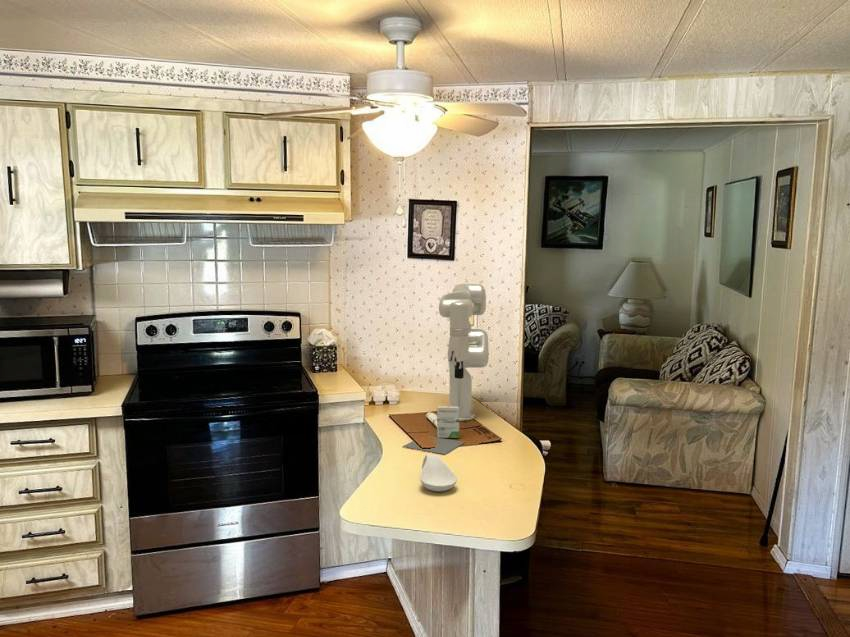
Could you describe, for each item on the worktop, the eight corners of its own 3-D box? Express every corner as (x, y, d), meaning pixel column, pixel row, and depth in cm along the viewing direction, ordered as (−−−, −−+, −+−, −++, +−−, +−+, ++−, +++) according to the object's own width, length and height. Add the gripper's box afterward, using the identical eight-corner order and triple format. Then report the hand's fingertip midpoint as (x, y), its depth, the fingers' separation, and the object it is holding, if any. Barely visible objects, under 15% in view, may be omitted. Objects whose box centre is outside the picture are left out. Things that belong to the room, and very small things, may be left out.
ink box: (459, 435, 272) (459, 405, 272) (459, 438, 267) (459, 407, 267) (437, 435, 273) (437, 405, 272) (436, 437, 268) (436, 407, 267)
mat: (423, 436, 271) (423, 435, 271) (464, 443, 263) (464, 442, 262) (402, 447, 258) (402, 446, 258) (444, 455, 249) (444, 454, 249)
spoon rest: (460, 494, 213) (461, 472, 212) (423, 497, 211) (423, 474, 210) (444, 468, 236) (444, 448, 235) (410, 470, 234) (410, 450, 233)
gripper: (459, 329, 281) (459, 373, 283) (441, 334, 268) (441, 380, 270) (476, 330, 277) (475, 375, 279) (459, 335, 264) (458, 382, 266)
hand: (459, 377), depth 275 cm, fingers closed
